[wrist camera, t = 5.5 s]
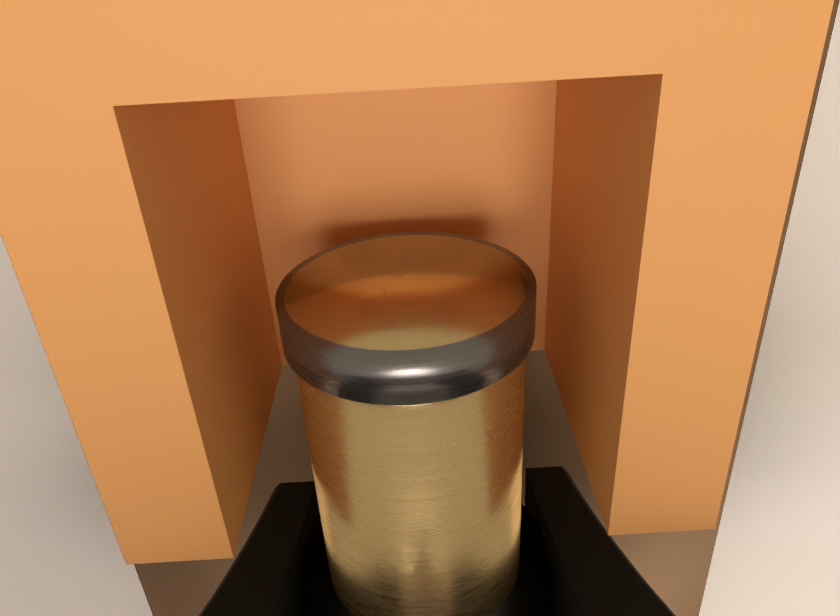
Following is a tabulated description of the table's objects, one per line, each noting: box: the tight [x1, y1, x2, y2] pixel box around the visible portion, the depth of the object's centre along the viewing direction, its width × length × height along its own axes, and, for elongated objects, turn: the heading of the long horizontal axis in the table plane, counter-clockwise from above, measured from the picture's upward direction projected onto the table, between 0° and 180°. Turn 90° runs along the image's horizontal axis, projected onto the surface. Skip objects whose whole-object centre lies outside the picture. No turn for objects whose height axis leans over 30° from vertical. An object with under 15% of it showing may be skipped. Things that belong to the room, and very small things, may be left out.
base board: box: [134, 0, 839, 616], centre depth 16 cm, size 12×27×1 cm, turn 3°
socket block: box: [0, 0, 834, 564], centre depth 8 cm, size 7×6×4 cm
